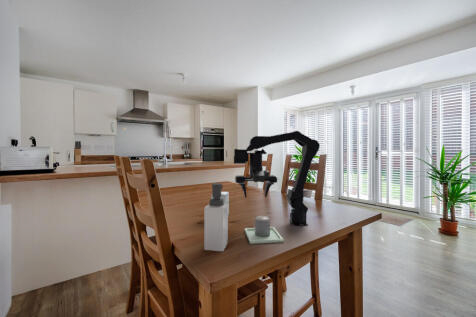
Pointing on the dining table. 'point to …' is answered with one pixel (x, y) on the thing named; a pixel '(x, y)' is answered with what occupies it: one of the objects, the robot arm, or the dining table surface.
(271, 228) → the tray
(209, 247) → the soap dispenser
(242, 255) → the dining table surface
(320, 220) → the dining table surface
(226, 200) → the supplement box
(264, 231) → the pot
